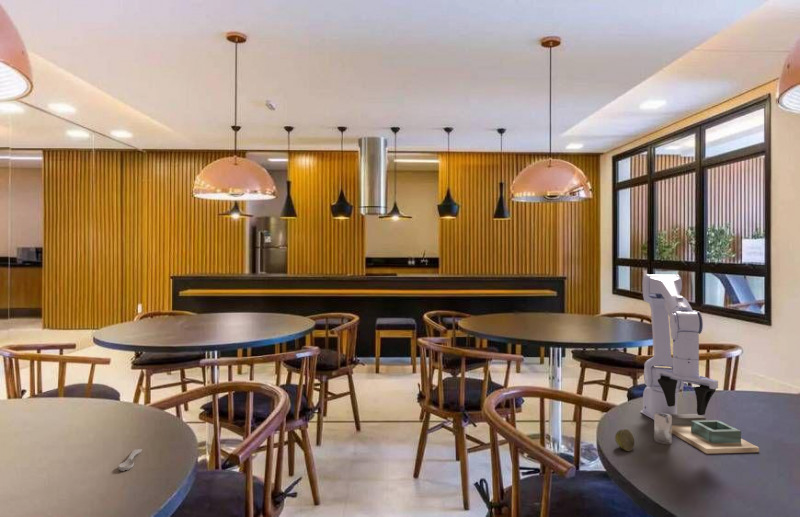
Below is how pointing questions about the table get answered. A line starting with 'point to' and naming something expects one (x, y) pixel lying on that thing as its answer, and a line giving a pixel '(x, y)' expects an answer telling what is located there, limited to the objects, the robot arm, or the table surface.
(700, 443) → the jig
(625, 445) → the lime
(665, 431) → the bushing
